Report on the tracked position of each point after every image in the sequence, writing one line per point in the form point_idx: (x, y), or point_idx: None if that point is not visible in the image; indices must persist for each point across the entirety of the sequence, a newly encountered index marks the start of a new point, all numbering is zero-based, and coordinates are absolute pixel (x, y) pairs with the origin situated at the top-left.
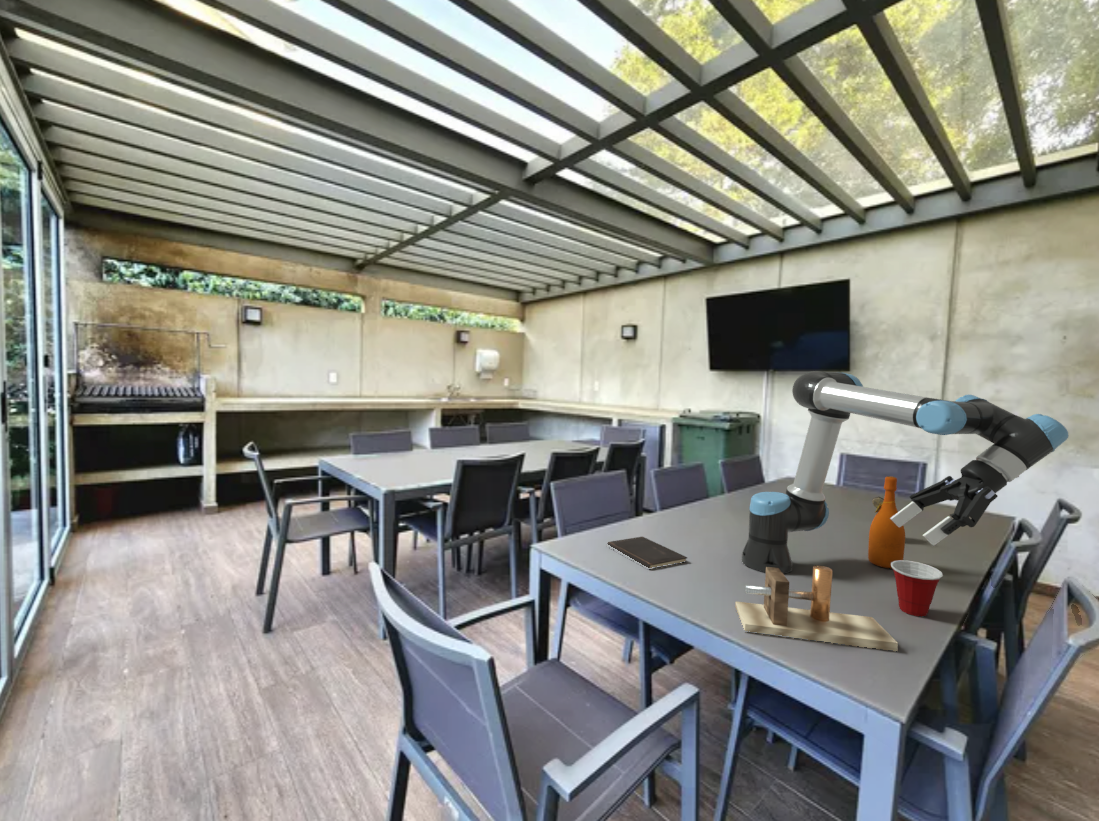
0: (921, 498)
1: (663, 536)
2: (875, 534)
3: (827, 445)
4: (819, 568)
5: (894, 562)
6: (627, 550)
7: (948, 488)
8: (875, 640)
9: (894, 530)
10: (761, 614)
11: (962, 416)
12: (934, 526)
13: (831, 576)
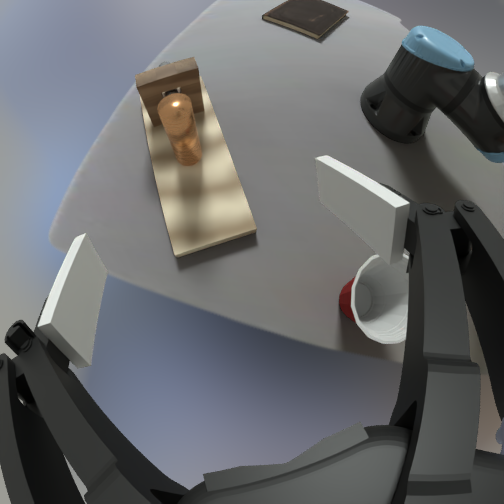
0: (420, 239)
1: (381, 31)
2: None
3: None
4: (172, 101)
5: (407, 259)
6: (290, 1)
7: (410, 444)
8: (167, 226)
9: None
10: None
11: None
12: (68, 266)
13: (167, 123)
